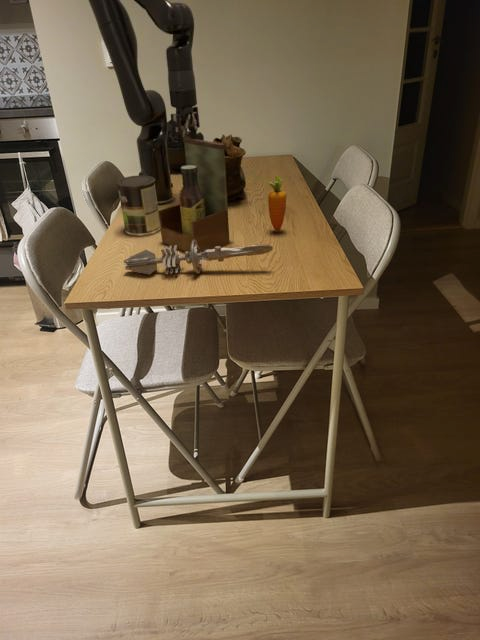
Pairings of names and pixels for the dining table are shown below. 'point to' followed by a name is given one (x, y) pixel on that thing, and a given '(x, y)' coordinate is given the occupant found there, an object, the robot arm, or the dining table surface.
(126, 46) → the robot arm
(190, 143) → the bottle rack
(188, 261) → the spaceship
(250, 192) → the dining table surface
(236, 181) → the pottery vessel
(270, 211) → the carrot
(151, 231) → the coffee can
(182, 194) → the sauce bottle
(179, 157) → the coal bowl
